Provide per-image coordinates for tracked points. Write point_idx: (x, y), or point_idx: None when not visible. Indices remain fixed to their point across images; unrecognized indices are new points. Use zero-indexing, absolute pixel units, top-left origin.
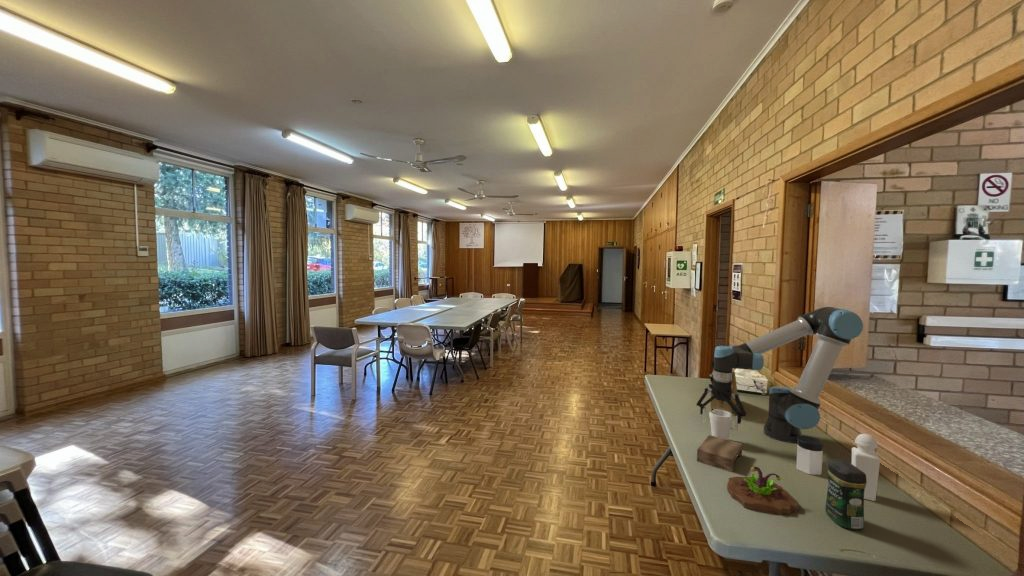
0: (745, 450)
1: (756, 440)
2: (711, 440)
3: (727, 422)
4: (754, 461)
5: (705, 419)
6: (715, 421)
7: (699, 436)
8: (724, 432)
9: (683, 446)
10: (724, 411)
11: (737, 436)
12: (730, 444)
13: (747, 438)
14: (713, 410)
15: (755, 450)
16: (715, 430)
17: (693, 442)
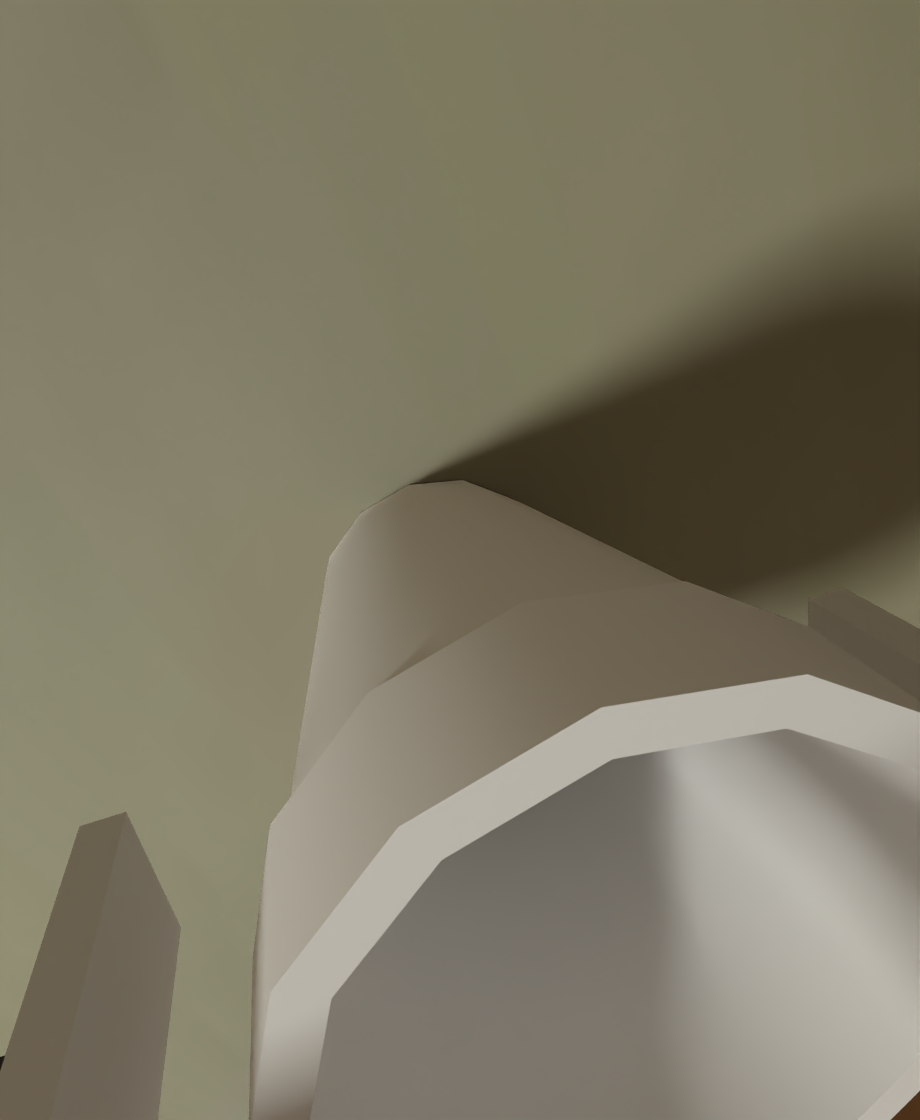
0: (795, 581)
1: (859, 3)
2: None
3: (796, 939)
4: None
5: (119, 842)
6: (543, 1065)
7: (138, 718)
8: (618, 781)
9: (232, 1113)
10: (684, 737)
11: (561, 111)
12: None
13: (721, 46)
14: (322, 1031)
15: (894, 465)
16: (474, 857)
17: (230, 947)
